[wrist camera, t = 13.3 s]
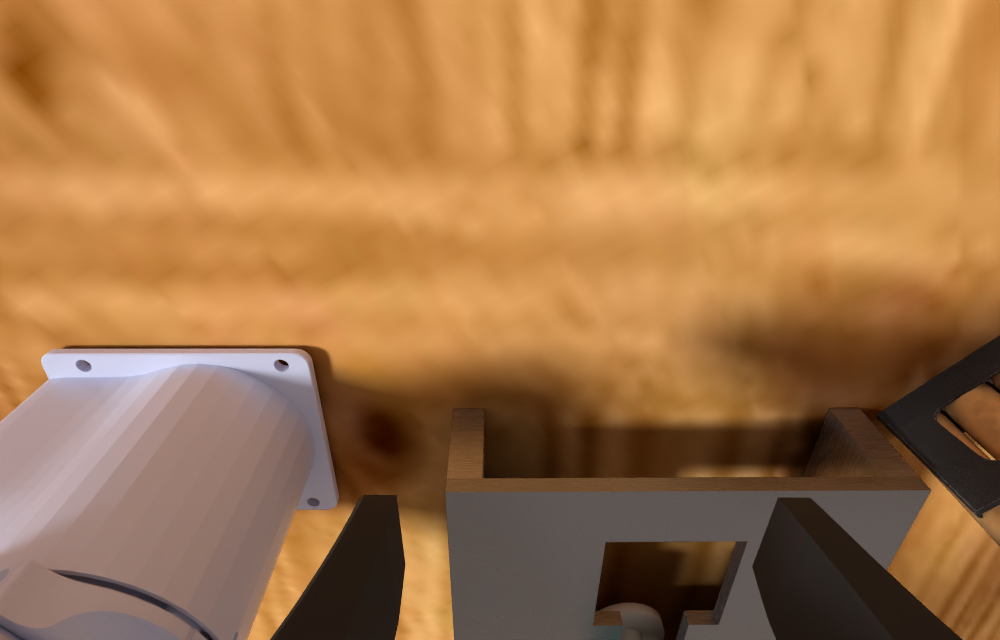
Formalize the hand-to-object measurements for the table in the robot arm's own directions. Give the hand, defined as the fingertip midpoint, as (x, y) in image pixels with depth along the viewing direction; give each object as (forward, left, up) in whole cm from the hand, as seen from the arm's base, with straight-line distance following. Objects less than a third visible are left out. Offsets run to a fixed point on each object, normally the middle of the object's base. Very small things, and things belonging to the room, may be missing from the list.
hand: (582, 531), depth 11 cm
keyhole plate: (+5, -16, -10) cm, 20 cm away
